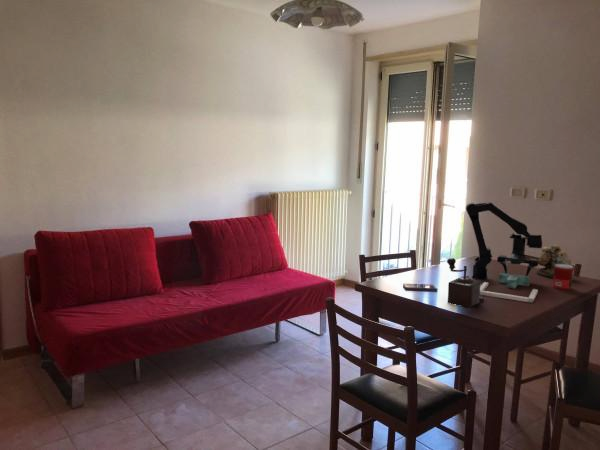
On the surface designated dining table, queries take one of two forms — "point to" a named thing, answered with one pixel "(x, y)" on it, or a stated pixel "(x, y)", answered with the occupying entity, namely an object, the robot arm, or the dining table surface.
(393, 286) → the dining table surface
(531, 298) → the outline
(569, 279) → the red tapered cylinder
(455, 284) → the manual coffee grinder
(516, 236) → the robot arm
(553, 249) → the khaki lumpy piece
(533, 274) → the dining table surface
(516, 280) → the T block
